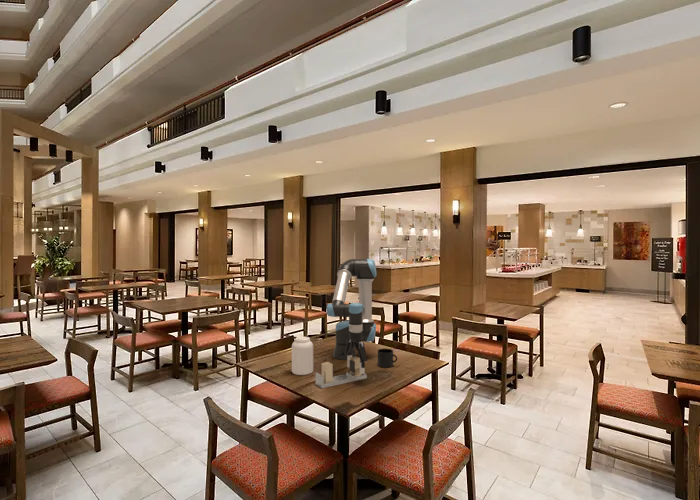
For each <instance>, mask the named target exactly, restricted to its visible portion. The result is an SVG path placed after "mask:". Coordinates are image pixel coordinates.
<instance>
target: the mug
mask: <svg viewBox="0 0 700 500" xmlns="http://www.w3.org/2000/svg"><path fill="white" fill-rule="evenodd" d="M394 357H395V360H394ZM397 361H398V357H397V355H396V354H394V350H392V349H390V348H379V349H378V350H377V366H378V367H379V368H383V369H384V368H385V369H388V368H392V367H393V366H394V363H396V362H397Z"/></svg>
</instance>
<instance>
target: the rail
mask: <svg viewBox="0 0 700 500" xmlns="http://www.w3.org/2000/svg"><path fill="white" fill-rule="evenodd" d="M367 378H368V374H366V372H365V373H363V374H361V375H360V376H354V375H352V374H350V371H349V372H348V371H346V372H345V373H344V374H339V375H336V376H335V375H334V365H333V363H331V362H329V361H326V362H322V363H321V374H320V373H319V372H315V385H316V386H317V387H319V388H320V389H325V388H330V387H334V386H338V385H344V384H347V383H352V382H357V381H360V380H361V381H362V380H365V379H367Z"/></svg>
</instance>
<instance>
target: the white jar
mask: <svg viewBox="0 0 700 500" xmlns="http://www.w3.org/2000/svg"><path fill="white" fill-rule="evenodd" d="M291 372H292V374H294V375H297V376H306V375H310V374H312V373H313V372H314V344H313V342H312V341H311V338H310V337H309V336H298V337H296V338H295V339H294V341H293V342H292V344H291Z"/></svg>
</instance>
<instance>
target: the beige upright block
mask: <svg viewBox="0 0 700 500" xmlns="http://www.w3.org/2000/svg"><path fill="white" fill-rule="evenodd" d="M349 373H350V374H352V375H354V376H360V375H361V374H360V358H359V356H356V357H352V358H350V367H349Z"/></svg>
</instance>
